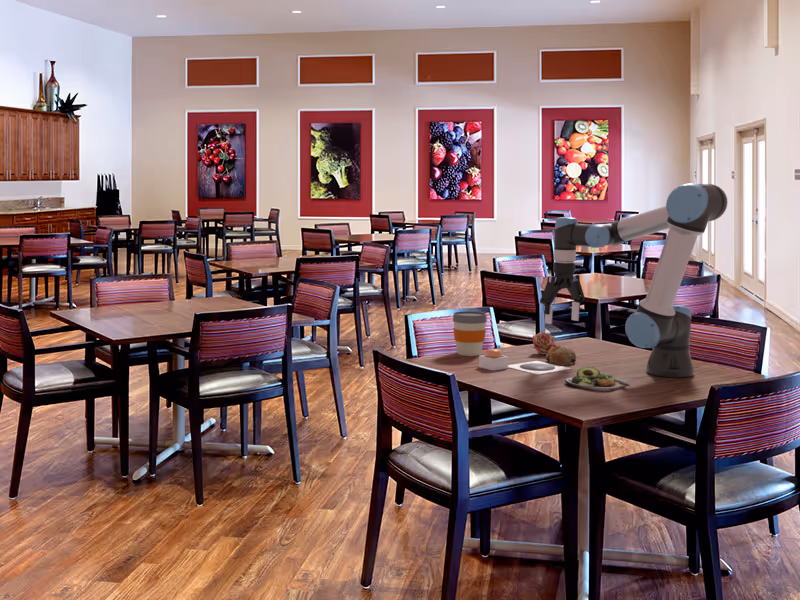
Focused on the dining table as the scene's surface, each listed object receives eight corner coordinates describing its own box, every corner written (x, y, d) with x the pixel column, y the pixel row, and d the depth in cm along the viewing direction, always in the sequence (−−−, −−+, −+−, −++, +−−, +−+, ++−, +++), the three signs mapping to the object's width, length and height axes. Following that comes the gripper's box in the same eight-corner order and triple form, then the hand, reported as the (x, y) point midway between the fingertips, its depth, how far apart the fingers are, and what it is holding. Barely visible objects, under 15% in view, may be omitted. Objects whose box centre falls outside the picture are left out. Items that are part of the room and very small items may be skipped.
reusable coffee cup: (445, 353, 318) (446, 313, 316) (464, 349, 328) (464, 310, 326) (474, 358, 311) (475, 317, 309) (492, 353, 321) (493, 313, 319)
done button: (494, 357, 298) (494, 348, 297) (504, 359, 294) (504, 350, 293) (483, 358, 295) (483, 350, 294) (493, 361, 291) (493, 352, 290)
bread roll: (563, 376, 299) (573, 357, 296) (539, 360, 304) (548, 341, 301) (574, 371, 307) (584, 352, 304) (550, 356, 312) (560, 337, 309)
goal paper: (536, 361, 306) (536, 360, 306) (570, 369, 293) (571, 368, 293) (504, 366, 296) (504, 365, 296) (537, 375, 283) (537, 373, 283)
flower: (524, 347, 323) (529, 332, 318) (543, 340, 327) (548, 326, 321) (539, 365, 317) (544, 350, 312) (558, 358, 321) (564, 343, 316)
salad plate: (642, 386, 269) (643, 372, 269) (613, 396, 257) (613, 381, 256) (588, 377, 283) (589, 363, 282) (558, 385, 270) (558, 371, 269)
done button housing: (494, 364, 299) (494, 353, 299) (508, 368, 294) (508, 356, 293) (479, 367, 295) (479, 355, 295) (492, 370, 290) (493, 358, 289)
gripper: (580, 259, 310) (577, 317, 313) (531, 262, 295) (528, 323, 298) (596, 261, 304) (593, 320, 307) (547, 264, 289) (544, 326, 292)
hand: (561, 322), depth 303 cm, fingers open, 13 cm apart
